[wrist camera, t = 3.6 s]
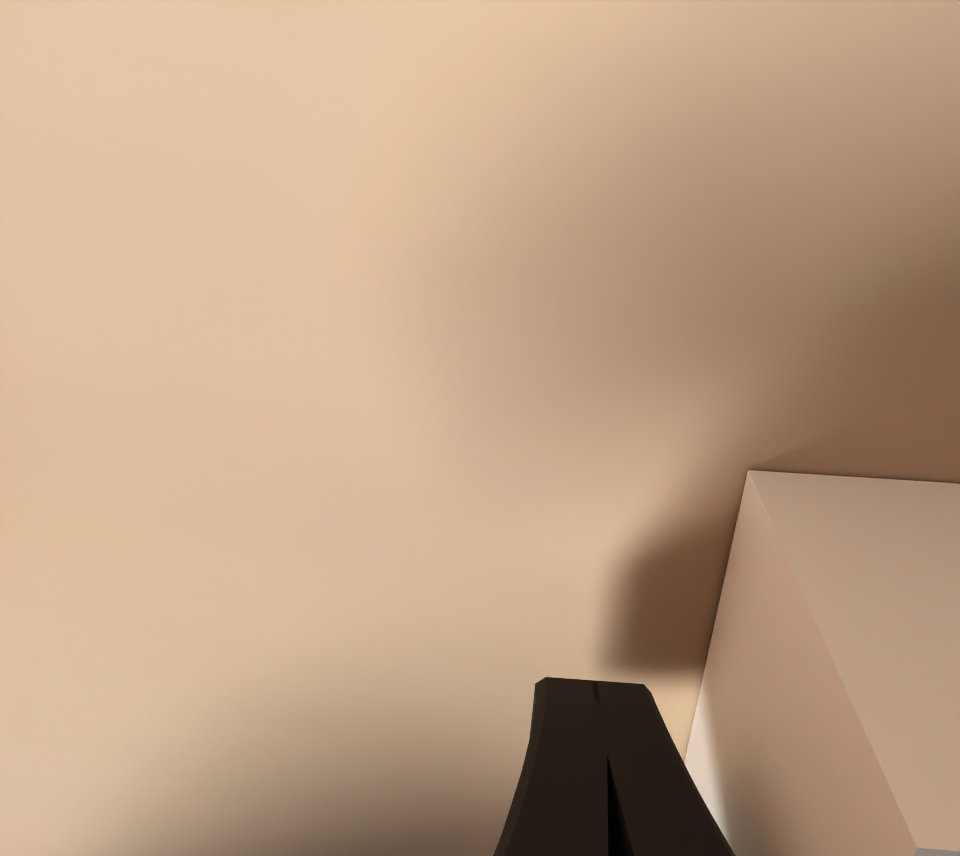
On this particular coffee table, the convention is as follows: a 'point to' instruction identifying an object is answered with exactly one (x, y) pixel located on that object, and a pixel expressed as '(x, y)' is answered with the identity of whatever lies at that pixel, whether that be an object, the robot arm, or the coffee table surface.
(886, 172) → the coffee table surface
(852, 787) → the carton
